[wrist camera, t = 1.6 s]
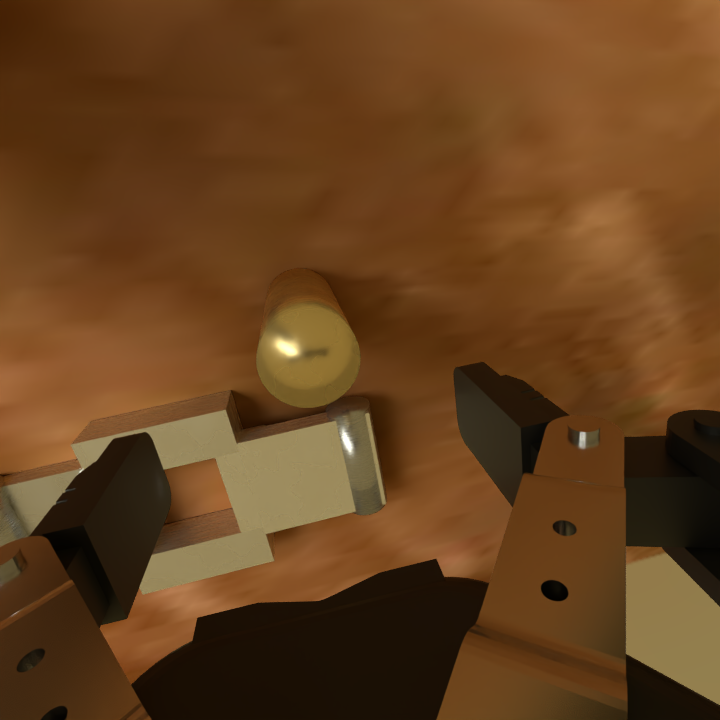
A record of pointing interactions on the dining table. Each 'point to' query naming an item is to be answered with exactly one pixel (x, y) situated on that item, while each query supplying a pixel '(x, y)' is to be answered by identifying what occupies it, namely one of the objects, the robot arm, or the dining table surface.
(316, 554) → the dining table surface
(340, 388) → the pin
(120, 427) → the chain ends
